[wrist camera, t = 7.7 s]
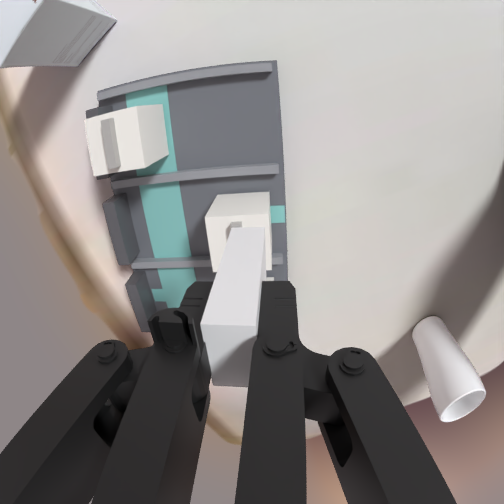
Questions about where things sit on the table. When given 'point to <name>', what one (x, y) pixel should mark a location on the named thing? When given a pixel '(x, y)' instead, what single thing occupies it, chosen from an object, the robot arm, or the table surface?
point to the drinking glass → (447, 370)
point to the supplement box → (50, 31)
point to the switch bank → (194, 175)
